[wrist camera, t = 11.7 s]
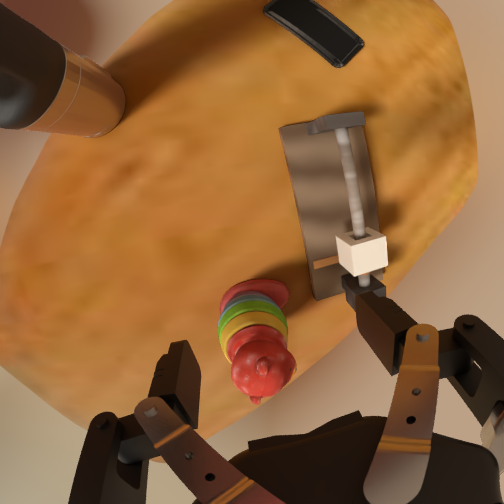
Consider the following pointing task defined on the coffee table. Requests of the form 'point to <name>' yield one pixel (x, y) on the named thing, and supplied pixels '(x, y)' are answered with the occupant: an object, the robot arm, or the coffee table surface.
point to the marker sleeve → (362, 252)
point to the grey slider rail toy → (332, 198)
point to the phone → (316, 29)
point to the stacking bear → (256, 337)
